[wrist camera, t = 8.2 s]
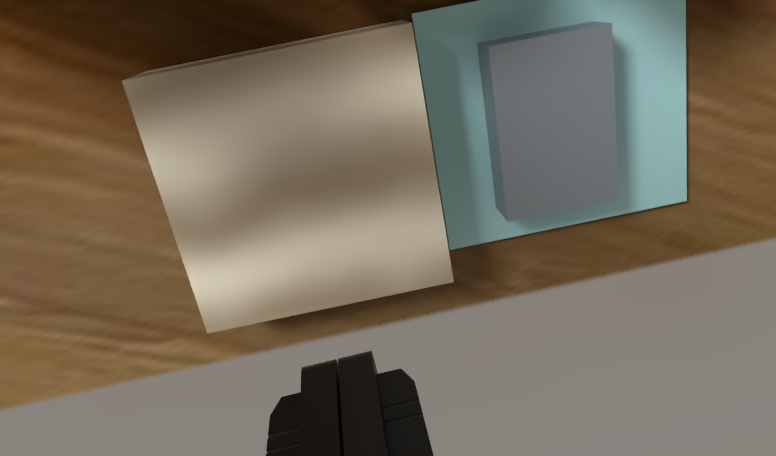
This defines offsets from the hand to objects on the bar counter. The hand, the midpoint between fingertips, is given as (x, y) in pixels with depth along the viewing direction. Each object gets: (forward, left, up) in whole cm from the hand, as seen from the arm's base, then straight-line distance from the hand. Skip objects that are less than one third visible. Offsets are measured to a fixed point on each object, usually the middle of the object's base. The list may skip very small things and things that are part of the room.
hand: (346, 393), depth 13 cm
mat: (0, +12, -21) cm, 24 cm away
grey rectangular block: (0, +11, -20) cm, 23 cm away
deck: (0, -2, -21) cm, 21 cm away
